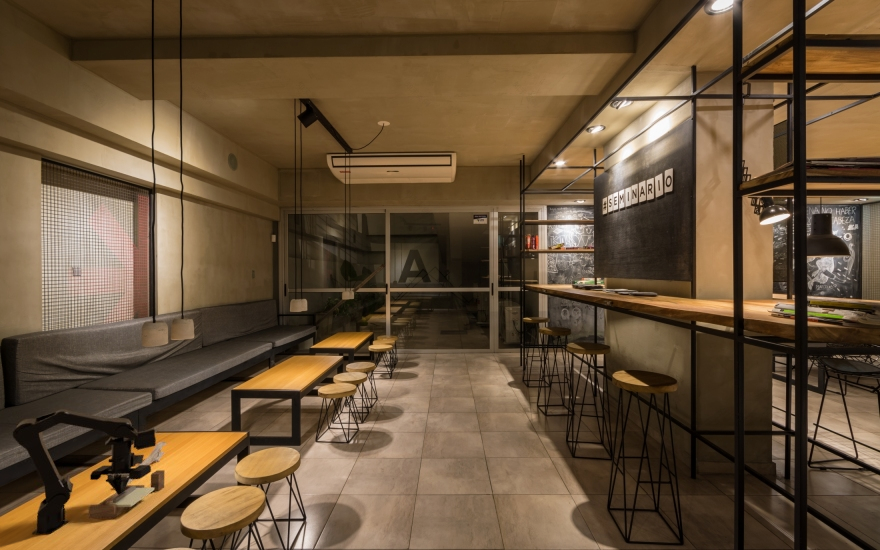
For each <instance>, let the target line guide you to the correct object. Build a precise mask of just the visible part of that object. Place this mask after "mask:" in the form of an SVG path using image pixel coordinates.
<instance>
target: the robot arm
mask: <svg viewBox="0 0 880 550" xmlns="http://www.w3.org/2000/svg"><path fill="white" fill-rule="evenodd" d="M60 424H63V425H70V426H75V427H80V428H84V429H90V430H95V431H100V432H102V433H105V434H106V435H108V436H110V437H109V438H108V439H107V440H105V444H104V445H105V447H108V446H111V458H110V459H108V463H111V464H110V465H102V466H99V467H98V468H96V469H94V470H93V471H92V472H90V473H91V474H90V475H89V479H90V480H91V481H93V480H94V481H97V480H100V478H101V477H102V476H106V477H107V479H105V482H106V483H108V484H109V485H110V486H111V488H112V489H113V490H114V491H115V493H116V492H117V494H118V495H119V494H121V493H122V492H124V490H125V488H126V485H127V483H128V481H129V479H133V480H141V479H142V478H143V477H145V476H147V475H148V474H150V473H151V472H152V466H151V464H149V465H140V466H138V465H139V464H141V463H142V462H143V461H144V460H143V459H144V456H145V455H144V454H135V453H134V452H132V442H133V449H135V450H136V451H139V450H140V451H141V450H143V449H144V450H145V449H149V448H153V447H156V445H157V443H156V440H157V439H156V432H155V431H156V430H155V428H154V427H153V428H149V429H146V430H142V431H138V430H137V429H136V428H135V427H134V426H132V425H133V424H132V422H131V420H130V419H128V418H125V417H112V418H111V417H108V418H107V417H101V416H96V415H91V414H88V413H82V412H77V411H73V410H68V409H66V408H61V409H58V410H56V411H54V412H50V413H47V414H43V415H41V416H38V417H35V418H27V419H24V420H21V421H20V422H19V423H18V425H16V427H15V429H14V430H13V432H12V438H13V439H14V441H16V443H18V444H19V446H21V447H22V448H23V449H25V450H26V451H27V453H28V455H29V457H30V459H31V461H32V464H33V465H34V467H35V470H36V472H37V473H38V476H39V478H40V480H41V481H42V484H43V486H44V493H45V494H44V495H45V498H44V499H43V500H41V501H40V504H39V507H38V510H37V516H36V529H35V530H33V531H32V532H31V534H32V535H43V534H44V535H45V534H53V533H54V532H55V531H58V529H60V528H62V527H63V526H65V525H66V524H68V523H69V519H66V507H65V504H67V503H68V502H69V500H70V498H71V495H72V493H73V488H74V483H72V482H71V480H70V475H67V476H65V477H63V476H62V475H60V473H59V470H58V469H57V467H56V464H55V463H54V461H53V458H52V457H51V454H50V452H49V451H48V448H47V446H46V444H45V442H44V436H43V432H45V431H47V430H49V429H51V428H52V427H54V426H58V425H60ZM136 464H138V465H136ZM135 466H136V467H135ZM137 466H138V467H137Z"/></svg>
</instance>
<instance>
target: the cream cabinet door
mask: <svg viewBox="0 0 880 550" xmlns="http://www.w3.org/2000/svg"><path fill="white" fill-rule="evenodd" d="M153 490H154V488H151V487H144V488H136V486H131V487H130V488H128V489H127V490H125V491H124V492H122V493H121V494H119V495H118V496H116V497H115V498H113V502H111V503H110V504H117V507H129V508H132V507H133V506H134V505H135V504H137V503H138V502H139V501H141V500H142V499H143V498H145V497H147V496H148V495H149V494H151V492H152V491H153ZM152 493H153V492H152ZM108 505H109V504H108Z"/></svg>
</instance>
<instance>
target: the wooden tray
mask: <svg viewBox="0 0 880 550" xmlns="http://www.w3.org/2000/svg"><path fill="white" fill-rule="evenodd" d="M131 486H136V488H145V485H143V484H135V485H132V484H131V485H130V484H128V485H126V488H125V490H127V489H128V488H130V487H131ZM125 490H124V491H125ZM116 496H118V494H117V492H116V491H115V492H114V494H111V495H110V496H108V497H107V498H106V499H104V500H103V501H101V502H99V503H98V504H91V505H89V506H88V519H90V520H91V519H97V520H99V519H115V518H116V516H117V517H118V516H119V515H121V514H122V513H123V512H125V511H126V510H128V509H129V508H130V507H117V504H110V503H111V502H113V498H115V497H116ZM108 504H109V505H108ZM124 510H125V511H124ZM120 513H121V514H120Z"/></svg>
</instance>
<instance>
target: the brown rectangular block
mask: <svg viewBox="0 0 880 550" xmlns="http://www.w3.org/2000/svg"><path fill="white" fill-rule="evenodd" d="M165 473H166V472H165V470H161V469H160V470H155V471H153V472H152V473H151V474H150V488H154V490H153V491H159V492H160V491H161V490H163V489H164V488H165ZM153 491H152V493H153Z"/></svg>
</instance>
